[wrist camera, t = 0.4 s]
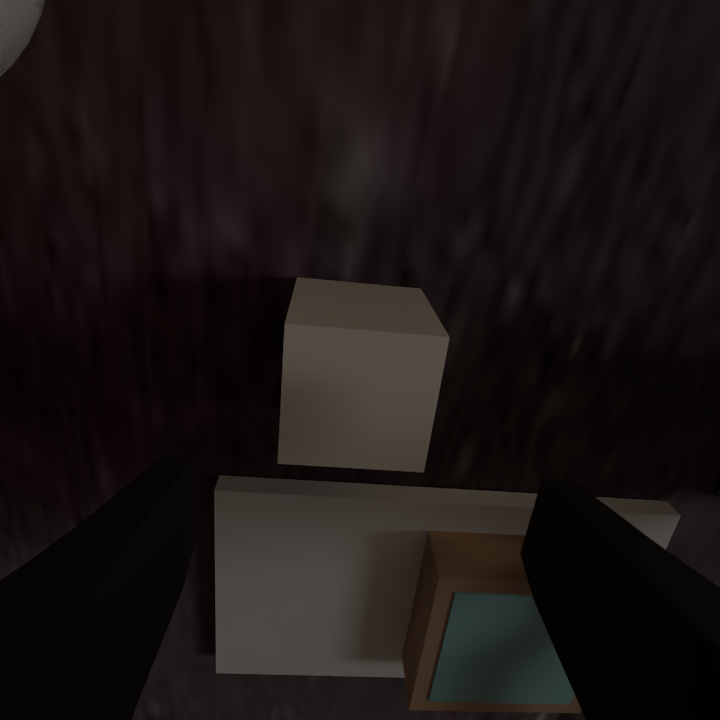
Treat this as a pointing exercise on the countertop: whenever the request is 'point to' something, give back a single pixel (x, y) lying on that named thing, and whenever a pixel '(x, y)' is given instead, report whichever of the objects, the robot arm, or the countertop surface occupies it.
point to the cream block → (359, 376)
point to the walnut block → (480, 632)
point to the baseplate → (346, 566)
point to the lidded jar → (16, 28)
